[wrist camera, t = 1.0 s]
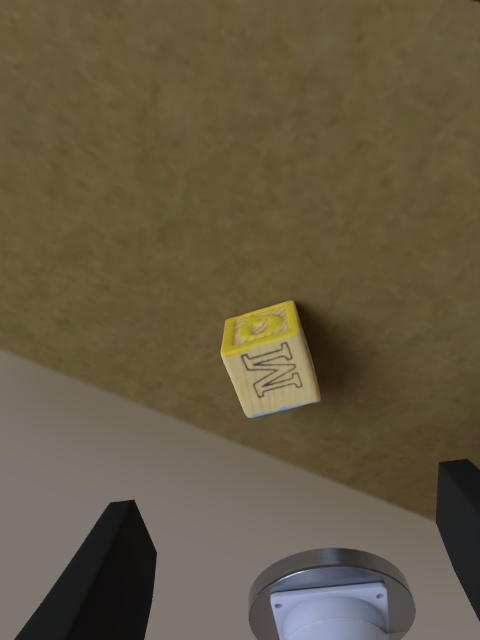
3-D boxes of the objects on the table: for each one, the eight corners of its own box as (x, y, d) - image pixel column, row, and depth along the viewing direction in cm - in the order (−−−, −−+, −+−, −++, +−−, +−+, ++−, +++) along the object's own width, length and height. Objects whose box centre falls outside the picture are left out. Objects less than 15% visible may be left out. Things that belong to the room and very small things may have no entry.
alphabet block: (246, 377, 19) (246, 422, 16) (222, 318, 17) (218, 356, 15) (312, 358, 18) (324, 402, 15) (293, 297, 17) (302, 331, 14)
